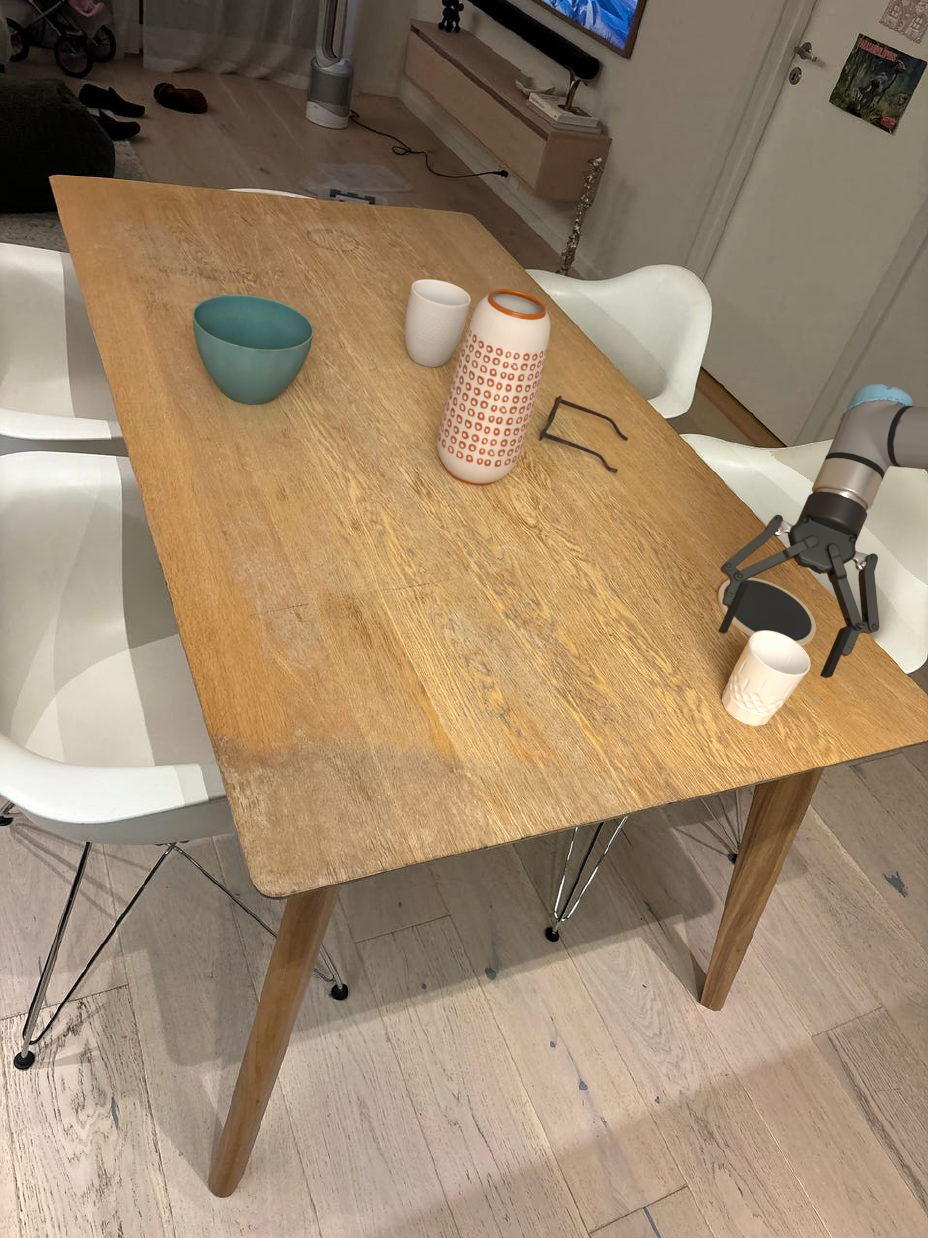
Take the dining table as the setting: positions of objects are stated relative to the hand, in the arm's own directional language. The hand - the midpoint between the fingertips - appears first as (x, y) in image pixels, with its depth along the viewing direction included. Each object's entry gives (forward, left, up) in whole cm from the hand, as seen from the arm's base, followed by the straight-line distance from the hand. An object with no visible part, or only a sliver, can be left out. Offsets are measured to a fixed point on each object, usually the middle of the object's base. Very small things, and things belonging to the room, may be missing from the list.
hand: (773, 654), depth 115 cm
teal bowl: (+89, +18, -8) cm, 91 cm away
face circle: (+9, -19, -8) cm, 22 cm away
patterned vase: (+56, -2, -8) cm, 57 cm away
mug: (+89, -21, -8) cm, 92 cm away
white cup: (-1, +2, -8) cm, 8 cm away
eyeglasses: (+54, -28, -8) cm, 61 cm away
